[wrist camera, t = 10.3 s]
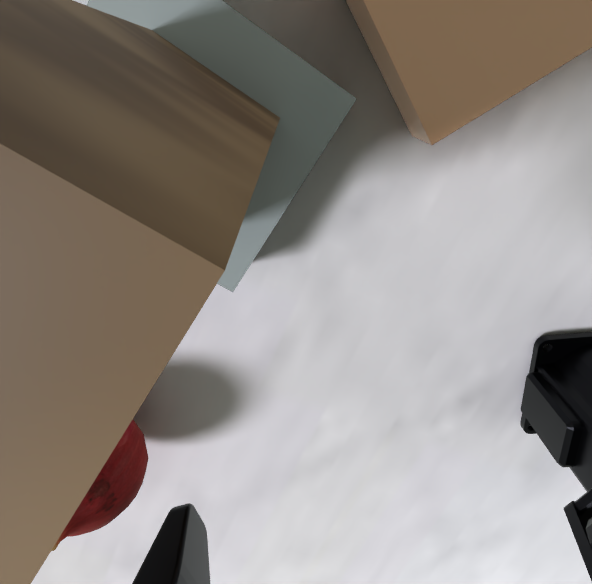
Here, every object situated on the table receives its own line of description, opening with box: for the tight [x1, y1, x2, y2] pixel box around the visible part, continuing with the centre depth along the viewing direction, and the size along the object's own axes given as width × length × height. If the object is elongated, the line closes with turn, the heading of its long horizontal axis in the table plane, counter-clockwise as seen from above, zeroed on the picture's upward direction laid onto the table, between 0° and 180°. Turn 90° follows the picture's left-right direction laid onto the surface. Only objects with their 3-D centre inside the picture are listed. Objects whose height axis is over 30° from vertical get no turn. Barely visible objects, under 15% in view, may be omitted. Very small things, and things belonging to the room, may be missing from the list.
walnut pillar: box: [0, 0, 280, 584], centre depth 10 cm, size 5×5×14 cm
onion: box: [51, 419, 148, 551], centre depth 22 cm, size 6×6×8 cm
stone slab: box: [87, 0, 356, 292], centre depth 17 cm, size 9×9×3 cm
